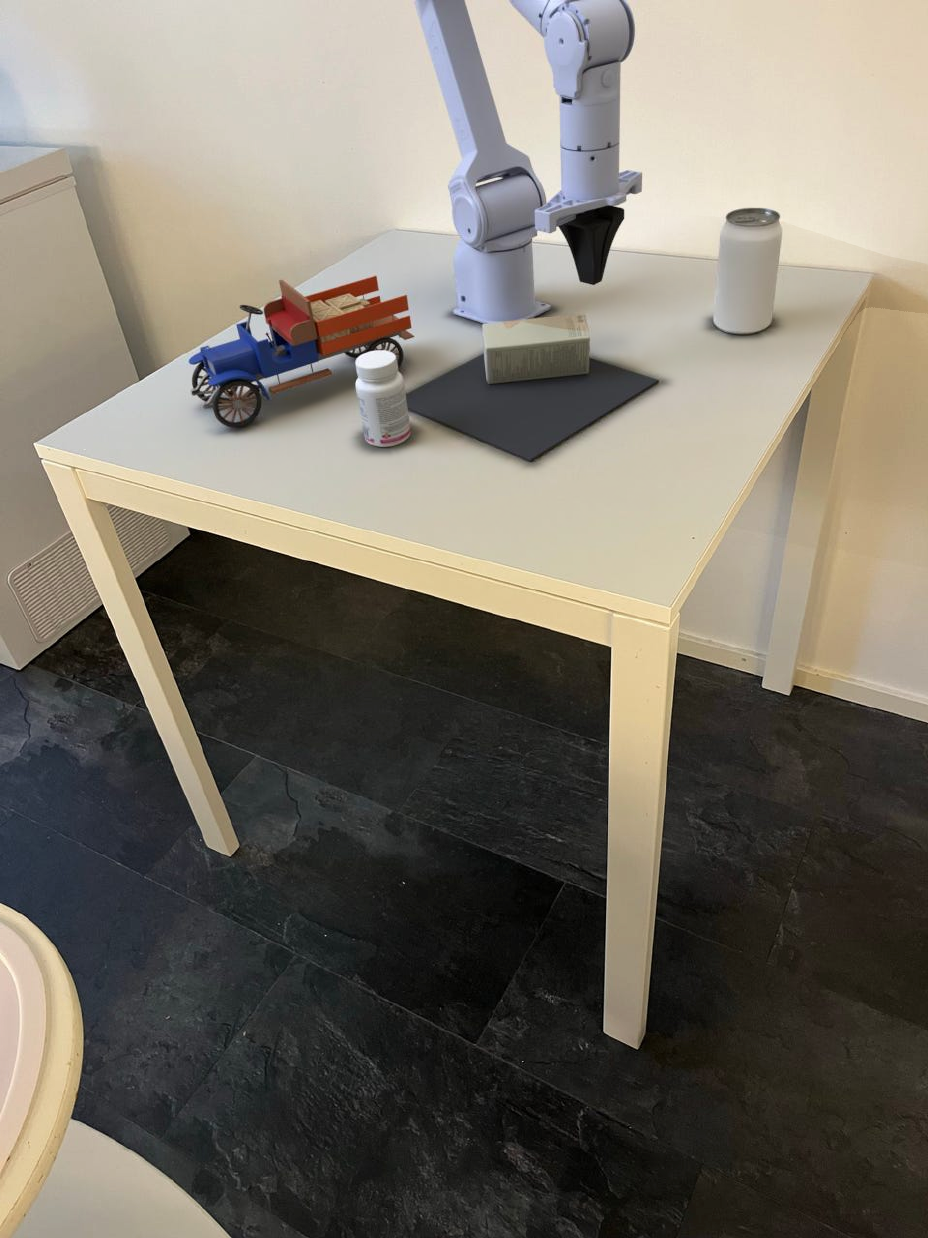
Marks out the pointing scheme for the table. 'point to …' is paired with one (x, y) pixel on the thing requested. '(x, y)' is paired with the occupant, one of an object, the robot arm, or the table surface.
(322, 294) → the toy truck
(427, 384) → the mat
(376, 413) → the pill bottle
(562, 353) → the box
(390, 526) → the table surface
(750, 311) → the can
